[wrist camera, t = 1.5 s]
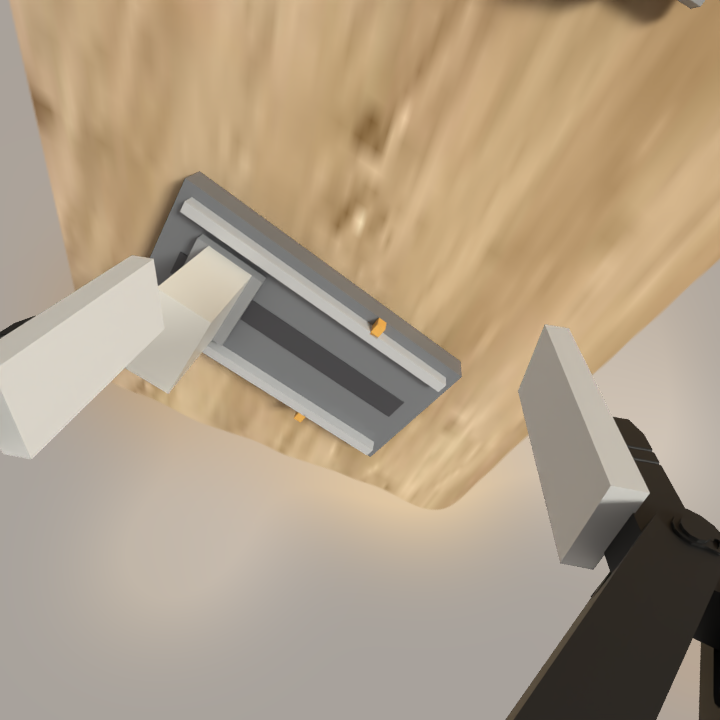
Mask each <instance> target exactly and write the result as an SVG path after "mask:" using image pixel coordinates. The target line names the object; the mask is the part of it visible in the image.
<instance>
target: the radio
mask: <svg viewBox="0 0 720 720" xmlns="http://www.w3.org/2000/svg"><path fill="white" fill-rule="evenodd" d="M678 1H679V2H681V3H682V4H684V5H686V6H687V7H689V8H690V9H691V8H696V7H700V6H701V5H702V4H703V2H704V1H705V0H678Z"/></svg>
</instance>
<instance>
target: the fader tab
mask: <svg viewBox="0 0 720 720" xmlns="http://www.w3.org/2000/svg"><path fill="white" fill-rule="evenodd" d="M265 279H266V277H264V276H263V275H261V274H260V273H258V272H257V271H255V270H254V269H253V268H251V267H250V266H248V265H247V264H245V263H244V262H243V261H241V260H240V259H238V258H237V257H235V256H234V255H232V254H231V253H230V252H228V251H227V250H225V249H224V248H222V247H221V246H219V245H218V244H217V243H215V242H214V241H212V240H211V239H209V238H208V237H207V236H205V235H204V234H202V235H201V236H200V237H198V238H197V240H196V242H195V244H194V246H193V248H192V250H191V252H190V254H189V256H188V258H187V260H186V262H185V264H184V266H183V267H182V268H180V269H179V270H178V271H177V272H175V273H174V274H173V275H172V276H170V277H169V278H168V279H167V280H166V281H164V282H163V283H162V284H161V285H159V286H158V290H159V296H160V303H161V309H162V315H163V322H164V328H165V329H164V330H163V331H162V332H161V333H160V334H159V335H158V336H157V337H156V338H155V339H154V340H153V341H152V342H151V343H150V344H149V345H148V346H147V347H146V348H145V349H144V350H142V351H141V352H140V353H139V354H138V355H137V356H136V357H135V358H134V359H133V360H132V361H131V362H130V363H129V364H128V365H127V366H126V367H125V368H126V369H127V370H129V371H131V372H132V373H134V374H136V375H137V376H139V377H141V378H142V379H144V380H146V381H148V382H149V383H151V384H153V385H154V386H156V387H158V388H159V389H161V390H163V391H165V392H166V393H168V394H169V392H170V391H171V390H172V389H173V387H174V386H175V385H176V384H177V383H178V381H179V380H180V379H181V378H182V376H183V375H184V374H185V373H186V371H187V370H188V369H189V368H190V366H191V365H192V364H193V363H194V362H195V360H196V359H197V358H198V357H199V355H200V354H201V353H202V352H203V350H204V349H205V348H206V347H207V345H208V344H209V343H210V342H211V341H212V340H213V341H215V342H216V343H218V344H219V345H221V346H222V345H223V344H224V342H225V341H226V340H227V338H228V336H229V335H230V333H231V332H232V330H233V329H234V327H235V326H236V324H237V323H238V321H239V319H240V318H241V316H242V315H243V313H244V312H245V310H246V309H247V307H248V306H249V304H250V302H251V301H252V299H253V298H254V296H255V295H256V293H257V292H258V290H259V288H260V287H261V285H262V284H263V282H264V281H265Z"/></svg>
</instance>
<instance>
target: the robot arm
mask: <svg viewBox="0 0 720 720" xmlns="http://www.w3.org/2000/svg"><path fill="white" fill-rule="evenodd" d="M164 329H165V328H164V322H163V315H162V309H161V303H160V296H159V290H158V284H157V277H156V271H155V265H154V259H152V258H146V257H140V256H134V255H131V256H130V257H128V258H127V259H125V260H124V261H122V262H120V263H119V264H117V265H116V266H114V267H113V268H111V269H109V270H108V271H106V272H105V273H103V274H101V275H100V276H98V277H97V278H95V279H94V280H92V281H90V282H89V283H87V284H86V285H84V286H83V287H81V288H79V289H78V290H76V291H75V292H73V293H72V294H70V295H68V296H67V297H65V298H64V299H62V300H60V301H59V302H58V303H56V304H54V305H53V306H51V307H49V308H48V309H46V310H45V311H43V312H42V313H40V314H38V315H37V316H33V317H30V318H27V319H25V320H22V321H19V322H16V323H14V324H12V325H11V326H9V327H8V328H6V329H4V330H3V331H1V332H0V450H1V452H2V453H3V454H6V455H11V456H17V457H21V458H27V459H32V458H33V457H34V456H35V455H36V454H37V453H38V452H39V451H40V450H41V449H42V448H43V447H45V446H46V444H48V443H49V441H50V440H52V439H53V438H54V436H56V435H57V434H58V433H59V432H60V431H61V430H62V429H63V428H64V427H65V426H66V425H67V424H68V423H69V422H70V421H71V420H72V419H73V418H74V417H75V416H76V415H77V414H78V413H79V412H80V411H81V410H82V409H83V408H84V407H85V406H86V405H87V404H88V403H89V402H90V401H91V400H92V399H94V397H96V395H98V393H99V392H101V391H102V390H103V389H104V388H105V387H106V386H107V385H108V384H109V383H110V382H111V381H112V380H113V379H114V378H115V377H116V376H117V375H118V374H119V373H120V372H121V371H122V370H123V369H124V368H125V367H126V366H127V365H128V364H129V363H130V362H131V361H132V360H133V359H134V358H135V357H136V356H137V355H138V354H139V353H140V352H141V351H142V350H144V349H145V348H146V347H147V346H148V345H149V344H150V343H151V342H152V341H153V340H154V339H155V338H156V337H157V336H158V335H159V334H160V333H161V332H162V331H163V330H164ZM518 393H519V397H520V401H521V405H522V409H523V413H524V417H525V421H526V425H527V429H528V434H529V438H530V441H531V445H532V450H533V453H534V458H535V462H536V466H537V470H538V474H539V478H540V482H541V487H542V491H543V495H544V499H545V503H546V507H547V511H548V515H549V519H550V523H551V527H552V531H553V535H554V540H555V543H556V547H557V552H558V556H559V560H560V563H562V564H567V565H572V566H577V567H582V568H588V569H594V568H595V567H596V565H597V564H598V563H599V561H600V560H601V559H602V557H603V556H604V555H605V557H606V560H607V563H608V566H609V569H610V572H609V574H608V575H607V576H606V578H605V579H604V580H603V581H602V583H601V584H600V585H599V587H598V588H597V589H596V590H595V592H594V593H593V594H592V596H591V599H590V600H589V602H588V603H587V605H586V606H585V608H584V609H583V610H582V612H581V613H580V614H579V616H578V617H577V619H576V620H575V622H574V623H573V624H572V626H571V627H570V629H569V630H568V632H567V633H566V635H565V636H564V637H563V639H562V640H561V642H560V643H559V644H558V646H557V647H556V649H555V650H554V651H553V653H552V654H551V656H550V657H549V659H548V660H547V662H546V663H545V664H544V666H543V667H542V669H541V670H540V671H539V673H538V674H537V676H536V677H535V678H534V680H533V681H532V683H531V684H530V686H529V687H528V689H527V690H526V691H525V693H524V694H523V696H522V697H521V698H520V700H519V701H518V703H517V704H516V706H515V707H514V708H513V710H512V711H511V713H510V714H509V715H508V717H507V718H506V720H656V719H657V716H658V714H659V712H660V710H661V708H662V705H663V703H664V701H665V699H666V696H667V694H668V692H669V690H670V688H671V685H672V683H673V681H674V679H675V676H676V674H677V672H678V670H679V667H680V665H681V663H682V661H683V659H684V656H685V654H686V652H687V650H688V647H689V645H690V643H691V641H692V638H694V639H696V640H698V641H700V642H701V660H700V697H699V720H720V532H719V531H718V530H717V529H716V528H715V526H714V525H712V524H711V523H710V522H708V521H707V520H706V519H704V518H703V517H702V516H700V515H698V514H696V513H694V512H692V511H690V510H688V509H685V507H684V506H683V504H682V502H681V500H680V498H679V497H678V495H677V493H676V491H675V490H674V488H673V486H672V484H671V482H670V481H669V479H668V477H667V475H666V473H665V472H664V470H663V468H662V466H661V465H659V461H658V459H657V457H656V455H655V454H654V453H653V452H652V448H651V446H650V445H649V443H648V441H647V439H646V437H645V436H644V434H643V433H642V432H641V431H640V430H639V429H638V428H637V427H636V426H635V425H634V424H633V423H632V422H630V420H628V419H622V418H617V417H612V415H611V413H610V411H609V409H608V407H607V405H606V403H605V401H604V399H603V396H602V394H601V393H600V390H599V389H598V387H597V384H596V382H595V380H594V378H593V376H592V374H591V372H590V370H589V368H588V366H587V364H586V362H585V360H584V358H583V356H582V354H581V352H580V350H579V348H578V346H577V344H576V342H575V340H574V338H573V336H572V334H571V332H570V330H569V328H564V327H558V326H552V325H546V324H545V325H544V328H543V330H542V333H541V335H540V338H539V340H538V343H537V345H536V348H535V350H534V353H533V355H532V358H531V360H530V363H529V365H528V368H527V370H526V373H525V375H524V378H523V380H522V383H521V385H520V388H519V390H518Z"/></svg>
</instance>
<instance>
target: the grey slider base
mask: <svg viewBox="0 0 720 720" xmlns="http://www.w3.org/2000/svg"><path fill="white" fill-rule="evenodd" d="M202 234H204V235H205V236H207V237H208V238H209V239H211V240H212V241H214V242H215V243H217V244H218V245H219V246H221V247H222V248H224V249H225V250H227V251H228V252H230V253H231V254H232V255H234V256H235V257H237V258H238V259H240V260H241V261H243V262H244V263H245V264H247V265H248V266H250V267H251V268H253V269H254V270H255V271H257V272H258V273H260V274H261V275H263V276H264V277H266V279H265V281H264V282H263V284H262V285H261V287H260V288H259V290H258V292H257V293H256V295H255V296H254V298H253V299H252V301H251V302H250V304H249V306H248V307H247V309H246V310H245V312H244V313H243V315H242V316H241V318H240V319H239V321H238V323H237V324H236V326H235V327H234V329H233V330H232V332H231V333H230V335H229V336H228V338H227V340H226V341H225V342H224V344H223V345H222V346H221V345H219V344H218V343H216V342H215V341H213V340H212V341H211V342H210V343H209V344H208V345H207V347H206V348H205V349H204V350H203V353H204V354H206V355H207V356H209V357H211V358H212V359H214V360H215V361H217V362H219V363H220V364H222V365H223V366H225V367H227V368H228V369H230V370H231V371H233V372H235V373H236V374H238V375H239V376H241V377H243V378H244V379H246V380H247V381H249V382H251V383H252V384H254V385H255V386H257V387H259V388H260V389H262V390H263V391H265V392H267V393H268V394H270V395H271V396H273V397H275V398H276V399H278V400H279V401H281V402H283V403H284V404H286V405H287V406H289V407H291V408H292V409H294V410H295V411H297V412H296V414H295V417H294V419H296V420H297V421H299V422H301V421H302V420H303V419H304V418H305V417H307V418H308V419H310V420H311V421H313V422H314V423H316V424H318V425H319V426H321V427H322V428H324V429H326V430H327V431H329V432H330V433H332V434H334V435H335V436H337V437H338V438H340V439H342V440H343V441H345V442H346V443H348V444H350V445H351V446H353V447H354V448H356V449H358V450H359V451H361V452H362V453H364V454H366V455H368V456H370V457H371V456H372V455H373V454H374V453H375V452H376V451H378V450H379V449H380V448H381V447H382V446H383V445H384V444H386V443H387V442H388V441H389V440H390V439H391V438H392V437H394V436H395V435H396V434H397V433H398V432H399V431H400V430H402V429H403V428H404V427H405V426H406V425H407V424H408V423H410V422H411V421H412V420H413V419H414V418H415V417H416V416H418V415H419V414H420V413H421V412H422V411H423V410H424V409H426V408H427V407H428V406H429V405H430V404H431V403H432V402H434V401H435V400H436V399H437V398H438V397H439V396H440V395H442V394H443V393H444V392H445V391H446V390H447V389H448V388H450V387H451V386H452V385H453V384H454V383H455V382H456V381H458V380H459V379H460V378H461V377H462V374H461V362H460V361H459V360H458V359H456V358H455V357H454V356H452V355H451V354H450V353H448V352H447V351H445V350H444V349H443V348H441V347H440V346H439V345H437V344H436V343H434V342H433V341H432V340H430V339H429V338H428V337H426V336H425V335H423V334H422V333H421V332H419V331H418V330H417V329H415V328H414V327H412V326H411V325H410V324H408V323H407V322H406V321H404V320H403V319H401V318H400V317H399V316H397V315H396V314H395V313H393V312H392V311H391V310H389V309H388V308H386V307H385V306H384V305H382V304H381V303H380V302H378V301H377V300H375V299H374V298H373V297H371V296H370V295H369V294H367V293H366V292H364V291H363V290H362V289H360V288H359V287H358V286H356V285H355V284H353V283H352V282H351V281H349V280H348V279H347V278H345V277H344V276H343V275H341V274H340V273H338V272H337V271H336V270H334V269H333V268H332V267H330V266H329V265H327V264H326V263H325V262H323V261H322V260H321V259H319V258H318V257H316V256H315V255H314V254H312V253H311V252H310V251H308V250H307V249H305V248H304V247H303V246H301V245H300V244H299V243H297V242H296V241H295V240H293V239H292V238H290V237H289V236H288V235H286V234H285V233H284V232H282V231H281V230H279V229H278V228H277V227H275V226H274V225H273V224H271V223H270V222H268V221H267V220H266V219H264V218H263V217H262V216H260V215H259V214H257V213H256V212H255V211H253V210H252V209H251V208H249V207H248V206H246V205H245V204H244V203H242V202H241V201H240V200H238V199H237V198H236V197H234V196H233V195H231V194H230V193H229V192H227V191H226V190H225V189H223V188H222V187H220V186H219V185H218V184H216V183H215V182H214V181H212V180H211V179H209V178H208V177H207V176H205V175H204V174H203V173H201V172H197V173H195V174H193V175H191V176H189V177H187V178H185V180H184V182H183V185H182V187H181V189H180V191H179V194H178V196H177V198H176V200H175V202H174V205H173V207H172V209H171V211H170V214H169V216H168V218H167V220H166V223H165V225H164V227H163V229H162V232H161V234H160V236H159V238H158V241H157V243H156V245H155V247H154V250H153V252H152V254H151V256H150V258H152V259H154V265H155V271H156V277H157V284H158V286H159V285H161V284H162V283H163V282H164V281H166V280H167V279H168V278H169V277H170V276H172V275H173V274H174V273H175V272H177V271H178V270H179V269H180V268H182V267H183V266H184V264H185V262H186V260H187V258H188V256H189V254H190V252H191V250H192V248H193V246H194V244H195V242H196V240H197V238H198V237H200V236H201V235H202Z"/></svg>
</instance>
